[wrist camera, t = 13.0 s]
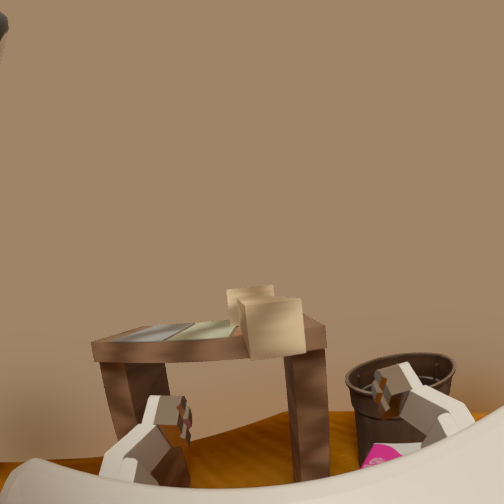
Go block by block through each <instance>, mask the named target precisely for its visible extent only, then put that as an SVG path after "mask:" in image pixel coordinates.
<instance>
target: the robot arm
mask: <svg viewBox="0 0 504 504" xmlns="http://www.w3.org/2000/svg"><path fill="white" fill-rule="evenodd" d="M8 28H9V27H8V20H7V17H6V16H5V15H4V14H2V13H1V12H0V62H1V60H2V56H3V53H4V49H5V43H6V34H7V31H8ZM374 377H375V380H374V381H373V383H372V387H371V390H372V396H373V399H374V401H375V402H376V403H378V404H379V407H378V411H379V413H380V415H381V418H382V420H385V419H388V418H392V417H395V416H399V415H400V417H401V418H403V419H404V420H406V421H407V422H408V423H410V424H411V425H413V426H414V427H415V428H417V429H418V430H419V431H421V432H422V433H424V434H425V435H427V436H426V438H425V439H424V441H423V442H422V444H421V446H420V447H421V449H419V450H416V451H414V452H411V453H409V454H406V455H403V456H401V457H398V458H395V459H392V460H389V461H386V462H383V463H380V464H377V465H373V466H370V467H367V468H363V469H359V470H356V471H352V472H348V473H344V474H340V475H335V476H331V477H326V478H321V479H316V480H310V481H304V482H298V483H291V484H283V485H275V486H265V487H252V488H230V489H201V488H180V487H167V486H158V484H159V483H158V482H157V481H156V480H155V479H154V478H153V477H152V476H151V475H150V473H151V471H152V470H153V469H154V468H155V467H156V465H157V464H158V463H159V462H160V460H161V459H162V458H163V457H164V456H165V454H166V453H167V452H168V451H169V449H170V448H171V447H189V446H190V437H191V434H190V432H189V428H190V427H191V426H192V413H191V410H190V408H189V406H187V405H186V402H187V400H186V399H185V396H160V395H150V397H149V398H148V401H147V405H146V409H145V412H144V416H143V420H142V424H138V425H137V426H136V427H134V428H133V429H132V430H131V431H130V432H129V433H128V434H127V435H125V436H124V437H123V438H122V439H121V440H120V441H119V442H117V443H116V444H115V445H114V446H113V447H112V448H111V449H109V450H108V451H107V452H106V453H105V455H104V459H103V462H102V465H101V469H100V472H99V476H98V475H94V474H90V473H86V472H82V471H78V470H75V469H71V468H68V467H65V466H61V465H58V464H55V463H52V462H49V461H46V460H44V459H41V458H32V459H30V460H28V461H26V462H25V463H23V464H21V465H20V466H18V467H17V468H15V469H14V470H13V471H12V472H11V473H10V475H9V476H8V478H7V480H6V482H5V484H4V486H3V489H2V491H1V493H0V504H504V405H503V406H502V407H500V408H499V409H497V410H495V411H494V412H492V413H491V414H489V415H487V416H486V417H484V418H482V419H480V420H479V421H477V422H475V420H474V419H473V417H472V415H471V414H470V412H469V411H468V409H467V407H466V406H465V404H464V403H462V402H460V401H458V400H456V399H453V398H451V397H449V396H447V395H445V394H443V393H441V392H439V391H437V390H435V389H433V388H431V387H429V386H427V385H424V386H423V385H422V383H421V381H420V380H419V378H418V377H417V375H416V374H415V372H414V370H413V369H412V367H411V366H410V364H409V363H408V362H404V363H400V364H397V365H392V366H389V367H385V368H382V369H378V370H376V371H375V374H374Z"/></svg>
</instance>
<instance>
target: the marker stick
mask: <svg viewBox="0 0 504 504" xmlns="http://www.w3.org/2000/svg"><path fill="white" fill-rule="evenodd" d="M227 299H228V308H229V317H230V326H231V327H234V326H240V328H241V331H242V334H243V337H244V340H245V344H246V347H247V350H248V353H249V356H250V359H251V361H255V360H263V359H270V358H277V357H284V356H291V355H297V354H303V353H306V344H305V333H304V323H303V313H302V303H301V299H299V298H289V297H278V296H274V290H273V285H267V286H258V287H249V288H239V289H230V290H227Z"/></svg>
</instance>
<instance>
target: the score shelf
mask: <svg viewBox="0 0 504 504" xmlns="http://www.w3.org/2000/svg"><path fill="white" fill-rule="evenodd" d="M303 323H304V333H305V344H306V353H303V354H297V355H291V356H284V366H285V377H286V388H287V399H288V410H289V422H290V434H291V446H292V459H293V472H294V480H295V483H298V482H304V481H310V480H316V479H321V478H326V477H329V416H328V394H327V375H326V360H325V348H327V342H326V330H325V325H323V324H321V323H319V322H317V321H316V320H314V319H311V318H310V317H308V316H306V315H304V314H303ZM91 345H92V352H93V358H94V362H99V363H100V368H101V373H102V378H103V383H104V388H105V392H106V397H107V401H108V405H109V409H110V413H111V417H112V421H113V424H114V428H115V432H116V435H117V438H118V442H119V441H120V440H121V439H122V438H123V437H124V436H125V435H127V434H128V433H129V432H130V431H131V430H132V429H133V428H134V427H136V426H137V425H138V424H142V420H143V416H144V412H145V409H146V405H147V401H148V398H149V397H150V395H160V396H170V391H169V386H168V380H167V374H166V368H165V363H178V362H203V361H218V360H231V359H244V358H250V356H249V353H248V350H247V347H246V344H245V340H244V337H243V334H242V331H241V328H240V326H234V327H231V326H230V320H224V321H212V322H201V323H200V322H199V323H196V324H195V323H185V324H169V325H156V326H143V327H139V328H136V329H133V330H129V331H126V332H123V333H120V334H116V335H113V336H110V337H107V338H103V339H100V340H97V341H93V342H91ZM150 475H151V476H152V477H153V478H154V479H155V480H156V481H157V482H158V483H159V484H158V486H167V487H180V488H188V486H189V483H190V478H189V474H188V470H187V467H186V463H185V459H184V455H183V451H182V447H171V448H170V449H169V451H168V452H167V453H166V454H165V456H164V457H163V458H162V459H161V460H160V462H159V463H158V464H157V465H156V467H155V468H154V469H153V470H152V471H151V473H150Z"/></svg>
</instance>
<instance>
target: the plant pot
mask: <svg viewBox="0 0 504 504" xmlns="http://www.w3.org/2000/svg"><path fill="white" fill-rule="evenodd" d="M404 362H408V363H409V364H410V366H411V367H412V369H413V370H414V372H415V374H416V375H417V377H418V378H419V380H420V381H421V383H422V385H423V386H424V385H427V386H429V387H431V388H433V389H435V390H437V391H439V392H441V393H443V394H445V395H447V396H449V393H450V387H451V381H452V376H453V375H454V373H455V371H456V363H455V361H454V360H453V359H452V358H450V357H448V356H446V355H443V354H438V353H422V352H421V353H403V354H395V355H389V356H384V357H380V358H376V359H373V360H370V361H367V362H365V363H362V364H360V365H358V366H356V367H354V368H352V369H351V370H350V371H349V372H348V373H347V374H346V376H345V383H346V385H347V386H348V388H349V390H350V396H351V403H352V406H353V407H354V409H355V419H356V428H357V438H358V449H359V463H360V467H361V466H362V464H363V463H364V461H365V459H366V457H367V456H368V454H369V452H370V450H371V448H372V446H373V445H374V443H389V444H398V443H420V442H421V443H422V442H423V441H424V439H425V438H426V436H427V435H425V434H424V433H422V432H421V431H419V430H418V429H417V428H415V427H414V426H413V425H411V424H410V423H408V422H407V421H406V420H404V419H403V418H401V417H400V415H399V416H395V417H392V418H388V419H385V420H382V418H381V415H380V413H379V411H378V407H379V404H378V403H376V402H375V401H374V399H373V396H372V390H371V387H372V383H373V381H374V380H375V377H374V374H375V371H376V370H378V369H382V368H385V367H389V366H392V365H397V364H400V363H404Z"/></svg>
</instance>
